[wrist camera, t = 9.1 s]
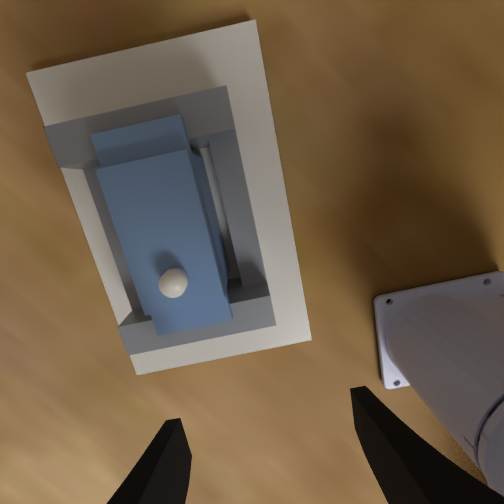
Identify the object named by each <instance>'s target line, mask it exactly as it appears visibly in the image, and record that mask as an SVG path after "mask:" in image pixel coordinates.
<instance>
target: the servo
mask: <svg viewBox="0 0 504 504" xmlns="http://www.w3.org/2000/svg"><path fill="white" fill-rule="evenodd" d="M90 136H91V139H92V142H93V145H94V148H95V151H96V154H97V157H98V160H99V163H100V166H101V168H99V169H95V171H96V174H97V177H98V180H99V183H100V186H101V189H102V192H103V195H104V198H105V200H106V203H107V206H108V209H109V212H110V215H111V218H112V221H113V224H114V227H115V230H116V233H117V236H118V239H119V241H120V244H121V247H122V250H123V253H124V256H125V259H126V262H127V265H128V268H129V271H130V274H131V277H132V280H133V282H134V285H135V288H136V291H137V294H138V297H139V300H140V303H141V306H142V309H143V312H144V315H145V316H147V315H151V318H152V321H153V324H154V327H155V330H156V333H157V336H161V335H165V334H170V333H175V332H180V331H185V330H190V329H194V328H199V327H204V326H209V325H214V324H219V323H224V322H228V321H232V320H233V314H232V310H231V306H230V302H229V298H228V294H227V284H228V277H229V271H230V266H229V262H228V258H227V253H226V249H225V245H224V241H223V237H222V233H221V229H220V225H219V221H218V217H217V212H216V208H215V204H214V200H213V196H212V192H211V188H210V184H209V180H208V176H207V171H206V167H205V163H204V159H203V158H202V157H200V156H198V155H196V154H195V153H193V152H192V151H191V147H190V143H189V139H188V135H187V131H186V127H185V124H184V120H183V117H182V116H181V115H180V114H179V115H174V116H170V117H166V118H161V119H157V120H152V121H148V122H144V123H139V124H135V125H130V126H126V127H122V128H117V129H113V130H108V131H104V132H100V133H95V134H91V135H90Z"/></svg>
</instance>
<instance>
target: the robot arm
mask: <svg viewBox="0 0 504 504" xmlns="http://www.w3.org/2000/svg"><path fill="white" fill-rule="evenodd" d="M485 279H486V282H485V283H484V280H485ZM387 299H390V302H388V303H386V301H387ZM374 311H375V321H376V330H377V339H378V349H379V358H380V367H381V377H382V383H383V385H384V387H385V388H386V389H394V388H399V387H404V386H409V385H411V386H412V388H413V389H414V390H415V391H416V392H417V394H418V395H419V396H420V397H421V399H422V400H423V401H424V402H425V404H426V405H427V406H428V407H429V408H430V410H431V411H432V412H433V413H434V415H435V416H436V417H437V418H438V419H439V421H440V422H441V423H442V424H443V426H444V427H445V428H446V429H447V430H448V432H449V433H450V434H451V435H452V437H453V438H454V439H455V440H456V442H457V443H458V444H459V445H460V446H461V448H462V449H463V450H464V451H465V453H466V454H467V455H468V456H469V457H470V459H471V460H472V461H473V462H474V464H475V465H476V466H477V467H478V468H479V470H480V471H481V472H482V473H483V475H484V476H485V478H486V480H487V484H488V486H486V485H485V484H483V483H482V482H480V481H479V480H477V479H476V478H474V477H473V476H472V475H470V474H469V473H467V472H466V471H464V470H463V469H461V468H460V467H459V466H457V465H456V464H455V463H453V462H452V461H450V460H449V459H448V458H446V457H445V456H444V455H442V454H441V453H440V452H439V451H437V450H436V449H435V448H433V447H432V446H431V445H430V444H429V443H427V442H426V441H425V440H424V439H422V438H421V437H420V436H419V435H418V434H416V433H415V432H414V431H413V430H412V429H411V428H409V427H408V426H407V425H406V424H405V423H404V422H403V421H401V420H400V419H399V418H398V417H397V416H396V415H395V414H394V413H393V412H392V411H391V410H389V409H388V408H387V407H386V406H385V405H384V404H383V403H382V402H381V401H380V400H379V399H378V398H377V397H376V396H375V395H374V394H373V393H372V392H371V391H370V390H369V389H368V388H367V387H366V386H362V387H356V388H350V391H351V400H352V408H353V416H354V425H355V430H356V432H357V435H358V438H359V441H360V443H361V446H362V449H363V451H364V454H365V456H366V458H367V461H368V463H369V465H370V467H371V469H372V471H373V473H374V475H375V477H376V479H377V481H378V483H379V485H380V487H381V489H382V491H383V493H384V496H385V498H386V500H387V502H388V504H504V272H501V271H495V272H490V273H486V274H481V275H476V276H471V277H466V278H461V279H456V280H451V281H446V282H442V283H437V284H432V285H427V286H422V287H417V288H412V289H407V290H402V291H398V292H393V293H388V294H383V295H379V296H377V297H376V298H375V299H374ZM396 380H397V381H396ZM395 381H396V382H395ZM191 460H192V454H191V451H190V448H189V445H188V442H187V438H186V435H185V432H184V429H183V426H182V422H181V419H180V418H177V419H171V420H166V421H165V423H164V424H163V425H162V427H161V428H160V430H159V431H158V433H157V434H156V436H155V437H154V439H153V440H152V442H151V443H150V445H149V446H148V448H147V449H146V451H145V452H144V453H143V455H142V456H141V458H140V459H139V461H138V462H137V463H136V465H135V466H134V468H133V469H132V471H131V472H130V473H129V475H128V476H127V478H126V479H125V480H124V481H123V483H122V484H121V485H120V487H119V488H118V489H117V491H116V492H115V493H114V495H113V496H112V497H111V499H110V500H109V501H108V502H107V504H185V501H186V496H187V491H188V486H189V479H190V470H191Z"/></svg>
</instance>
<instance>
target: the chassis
mask: <svg viewBox="0 0 504 504" xmlns="http://www.w3.org/2000/svg"><path fill="white" fill-rule="evenodd" d="M26 75H27V78H28V81H29V84H30V86H31V89H32V92H33V94H34V97H35V100H36V103H37V105H38V108H39V111H40V113H41V116H42V119H43V122H44V124H45V126H43V128H44V130H45V133H46V136H47V138H48V141H49V144H50V147H51V149H52V152H53V155H54V157H55V160H56V163H57V165H58V168H61V170H62V173H63V176H64V178H65V181H66V184H67V187H68V189H69V192H70V195H71V197H72V200H73V203H74V206H75V208H76V211H77V214H78V216H79V219H80V222H81V224H82V227H83V230H84V233H85V235H86V238H87V241H88V243H89V246H90V249H91V252H92V254H93V257H94V260H95V262H96V265H97V268H98V271H99V273H100V276H101V279H102V281H103V284H104V287H105V289H106V292H107V295H108V298H109V300H110V303H111V306H112V308H113V311H114V314H115V317H116V319H117V322H118V325H119V326H118V330H119V332H120V335H121V338H122V341H123V343H124V346H125V349H126V351H127V354H128V356H129V355H130V357H131V360H132V363H133V365H134V368H135V371H136V373H137V375H140V374H145V373H150V372H155V371H160V370H165V369H170V368H175V367H180V366H185V365H190V364H195V363H200V362H205V361H210V360H215V359H220V358H225V357H229V356H234V355H239V354H244V353H249V352H254V351H259V350H264V349H269V348H274V347H279V346H284V345H289V344H294V343H299V342H304V341H309V340H312V339H311V333H310V327H309V322H308V316H307V310H306V305H305V299H304V293H303V287H302V282H301V276H300V270H299V265H298V259H297V253H296V247H295V242H294V236H293V230H292V225H291V219H290V213H289V208H288V202H287V196H286V190H285V185H284V179H283V173H282V168H281V162H280V156H279V151H278V145H277V139H276V133H275V128H274V122H273V116H272V111H271V105H270V99H269V94H268V88H267V82H266V76H265V71H264V65H263V59H262V54H261V48H260V42H259V37H258V31H257V25H256V19H255V20H251V21H247V22H242V23H238V24H234V25H229V26H225V27H221V28H216V29H212V30H208V31H204V32H199V33H195V34H191V35H186V36H182V37H178V38H173V39H169V40H165V41H160V42H156V43H152V44H147V45H143V46H139V47H134V48H130V49H126V50H122V51H117V52H113V53H109V54H104V55H100V56H96V57H91V58H87V59H83V60H78V61H74V62H70V63H65V64H61V65H57V66H52V67H48V68H44V69H40V70H35V71H31V72H27V73H26ZM179 114H180V115H181V116H182V117H183V120H184V124H185V127H186V131H187V135H188V139H189V143H190V147H191V151H192V152H193V153H195V154H196V155H198V156H200V157H202V158H203V159H204V163H205V167H206V171H207V176H208V180H209V184H210V188H211V192H212V196H213V200H214V204H215V208H216V212H217V217H218V221H219V225H220V229H221V233H222V237H223V241H224V245H225V249H226V253H227V258H228V262H229V266H230V271H229V277H228V284H227V294H228V298H229V302H230V306H231V310H232V314H233V320H232V321H228V322H224V323H219V324H214V325H209V326H204V327H199V328H194V329H190V330H185V331H180V332H175V333H170V334H165V335H161V336H157V333H156V330H155V327H154V324H153V321H152V318H151V315H147V316H145V315H144V312H143V309H142V306H141V303H140V300H139V297H138V294H137V291H136V288H135V285H134V282H133V280H132V277H131V274H130V271H129V268H128V265H127V262H126V259H125V256H124V253H123V250H122V247H121V244H120V241H119V239H118V236H117V233H116V230H115V227H114V224H113V221H112V218H111V215H110V212H109V209H108V206H107V203H106V200H105V198H104V195H103V192H102V189H101V186H100V183H99V180H98V177H97V174H96V171H95V169H99V168H101V166H100V163H99V160H98V157H97V154H96V151H95V148H94V145H93V142H92V139H91V136H90V135H91V134H95V133H100V132H104V131H108V130H113V129H117V128H122V127H126V126H130V125H135V124H139V123H144V122H148V121H152V120H157V119H161V118H166V117H170V116H174V115H179Z"/></svg>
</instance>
